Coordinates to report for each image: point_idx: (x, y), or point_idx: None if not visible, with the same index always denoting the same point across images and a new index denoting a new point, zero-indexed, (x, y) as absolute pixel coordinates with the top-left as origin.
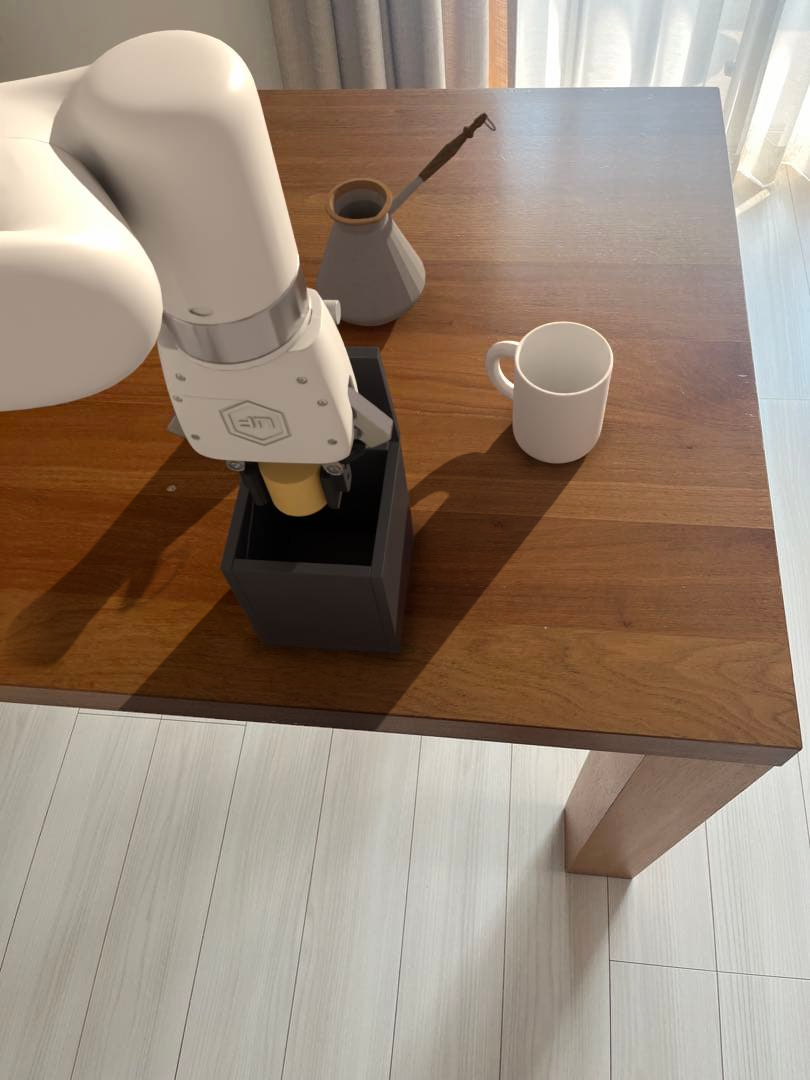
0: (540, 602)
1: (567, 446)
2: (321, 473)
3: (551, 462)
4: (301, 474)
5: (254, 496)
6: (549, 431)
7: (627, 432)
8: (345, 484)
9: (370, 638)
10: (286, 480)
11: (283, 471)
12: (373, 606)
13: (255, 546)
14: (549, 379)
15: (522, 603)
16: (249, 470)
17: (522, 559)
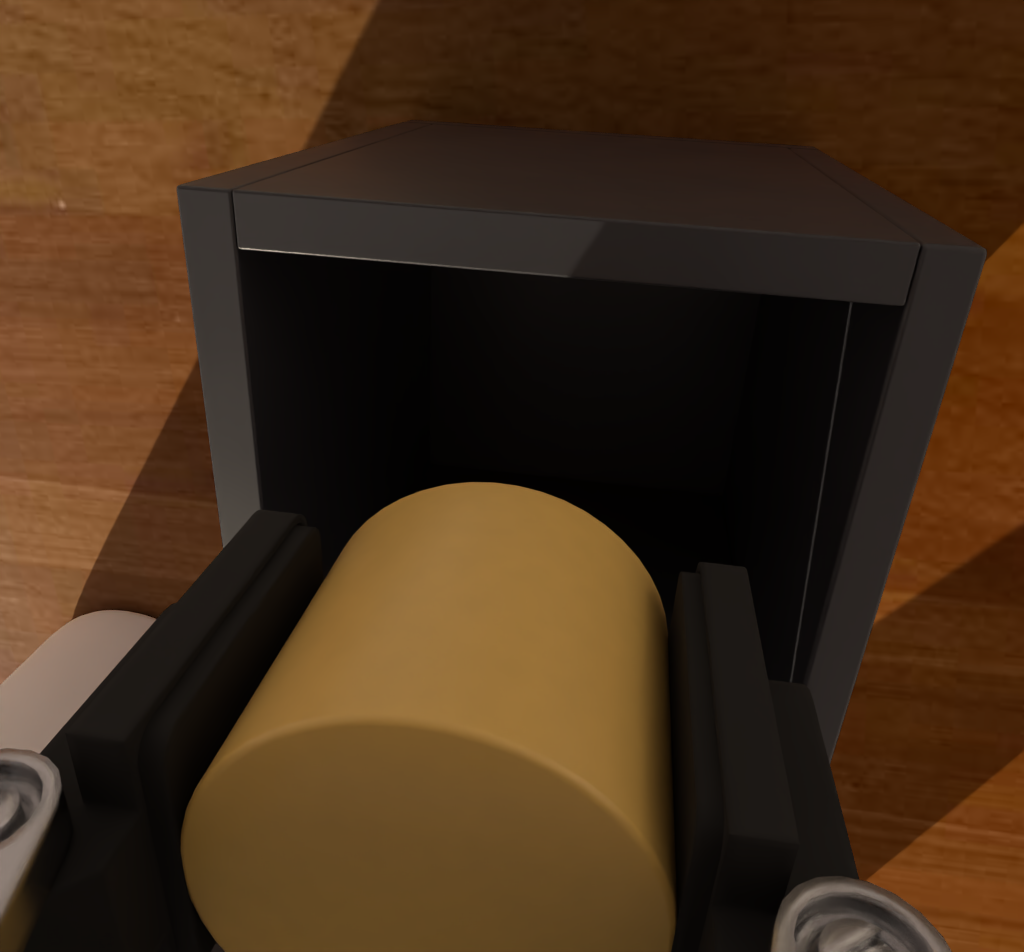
0: (88, 274)
1: (63, 648)
2: (155, 771)
3: (129, 613)
4: (304, 782)
5: (744, 626)
6: (68, 691)
7: (8, 660)
8: (131, 652)
9: (458, 132)
10: (410, 753)
11: (451, 822)
12: (348, 155)
13: (809, 411)
14: None
15: (128, 272)
16: (740, 872)
17: (151, 389)
